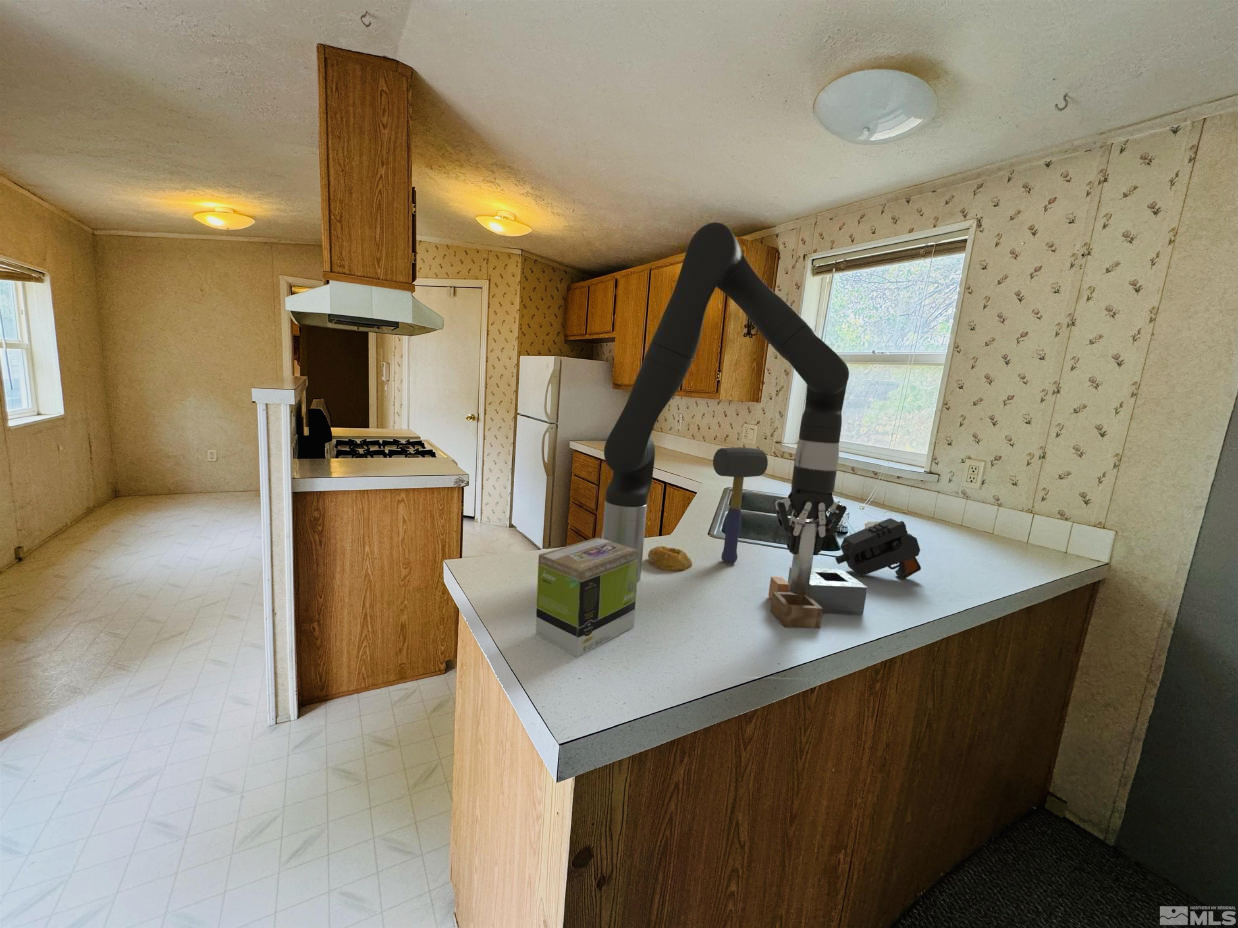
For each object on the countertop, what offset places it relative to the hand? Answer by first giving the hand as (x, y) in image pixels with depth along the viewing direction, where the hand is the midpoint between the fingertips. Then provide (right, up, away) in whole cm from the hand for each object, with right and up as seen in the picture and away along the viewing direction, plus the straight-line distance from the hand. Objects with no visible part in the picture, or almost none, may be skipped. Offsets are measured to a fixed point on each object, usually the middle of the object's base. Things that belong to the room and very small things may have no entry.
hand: (803, 553), depth 95 cm
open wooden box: (-1, -13, +2) cm, 13 cm away
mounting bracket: (+46, -10, +50) cm, 69 cm away
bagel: (-23, -8, +27) cm, 36 cm away
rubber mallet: (-7, -9, +31) cm, 33 cm away
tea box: (-41, -12, -10) cm, 44 cm away
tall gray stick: (-1, -8, +1) cm, 8 cm away
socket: (+9, -13, +11) cm, 19 cm away
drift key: (+2, -12, +10) cm, 16 cm away
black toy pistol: (+33, -13, +31) cm, 47 cm away
